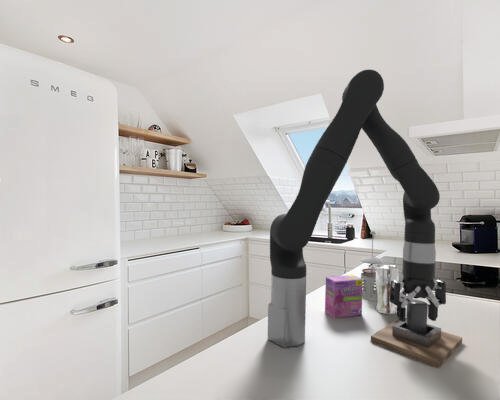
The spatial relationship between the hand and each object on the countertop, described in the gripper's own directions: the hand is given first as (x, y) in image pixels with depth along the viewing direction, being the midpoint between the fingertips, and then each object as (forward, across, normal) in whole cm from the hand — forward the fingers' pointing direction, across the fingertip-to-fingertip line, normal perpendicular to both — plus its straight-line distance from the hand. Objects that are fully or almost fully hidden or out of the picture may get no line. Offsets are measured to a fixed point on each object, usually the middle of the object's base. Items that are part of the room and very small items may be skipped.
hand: (417, 320), depth 80 cm
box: (+6, -12, +20) cm, 24 cm away
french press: (+6, +6, +35) cm, 36 cm away
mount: (+6, 0, 0) cm, 6 cm away
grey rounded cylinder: (+4, 0, 0) cm, 4 cm away
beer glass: (+6, +4, +21) cm, 22 cm away
